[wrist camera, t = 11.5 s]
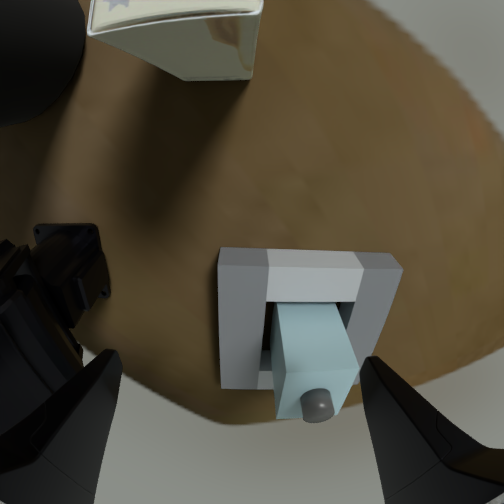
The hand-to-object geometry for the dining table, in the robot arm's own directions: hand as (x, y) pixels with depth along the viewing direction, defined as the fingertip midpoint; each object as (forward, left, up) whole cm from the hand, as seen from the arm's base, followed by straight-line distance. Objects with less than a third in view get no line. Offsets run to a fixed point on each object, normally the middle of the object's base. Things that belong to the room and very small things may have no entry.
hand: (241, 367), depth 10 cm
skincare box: (-2, +13, -12) cm, 18 cm away
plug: (+5, -8, -12) cm, 15 cm away
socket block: (+5, -8, -12) cm, 15 cm away
